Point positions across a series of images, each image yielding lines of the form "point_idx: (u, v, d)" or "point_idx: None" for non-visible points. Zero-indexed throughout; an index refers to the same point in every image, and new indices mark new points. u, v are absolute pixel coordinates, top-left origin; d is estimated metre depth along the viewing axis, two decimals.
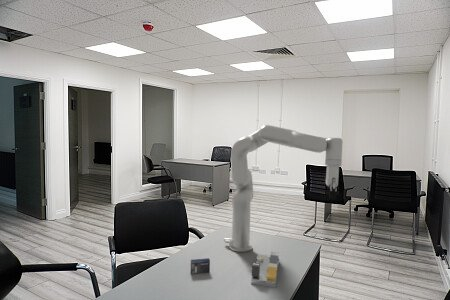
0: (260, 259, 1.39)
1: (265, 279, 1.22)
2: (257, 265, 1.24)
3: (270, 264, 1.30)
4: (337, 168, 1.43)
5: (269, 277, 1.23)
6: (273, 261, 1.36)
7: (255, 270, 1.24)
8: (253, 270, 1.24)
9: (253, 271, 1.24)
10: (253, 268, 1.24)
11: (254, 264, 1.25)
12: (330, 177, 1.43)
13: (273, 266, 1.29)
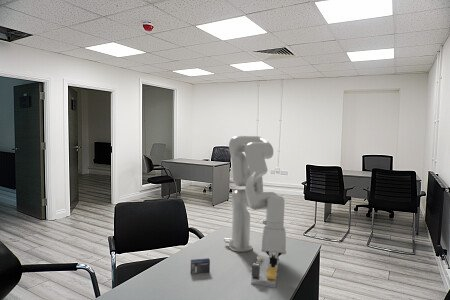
0: (260, 259, 1.39)
1: (265, 279, 1.22)
2: (257, 265, 1.24)
3: (270, 265, 1.30)
4: None
5: (269, 276, 1.23)
6: None
7: (255, 270, 1.24)
8: (253, 270, 1.24)
9: (253, 271, 1.24)
10: (253, 268, 1.24)
11: (254, 264, 1.25)
12: (285, 242, 1.27)
13: None
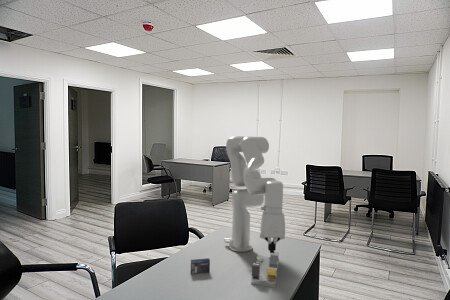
0: (260, 259, 1.39)
1: (265, 279, 1.22)
2: (257, 265, 1.24)
3: (270, 267, 1.31)
4: None
5: (269, 272, 1.23)
6: (273, 261, 1.36)
7: (255, 270, 1.24)
8: (253, 270, 1.24)
9: (253, 271, 1.24)
10: (253, 268, 1.24)
11: (254, 264, 1.25)
12: None
13: (273, 268, 1.29)
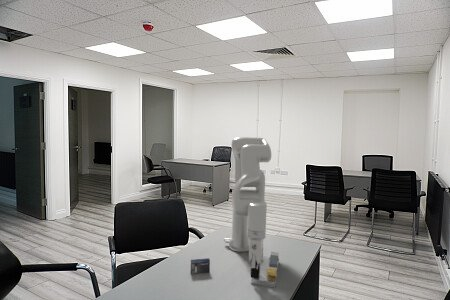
0: None
1: (265, 279, 1.22)
2: None
3: (270, 267, 1.31)
4: None
5: (269, 272, 1.23)
6: (273, 261, 1.36)
7: None
8: None
9: None
10: None
11: None
12: None
13: (273, 268, 1.29)
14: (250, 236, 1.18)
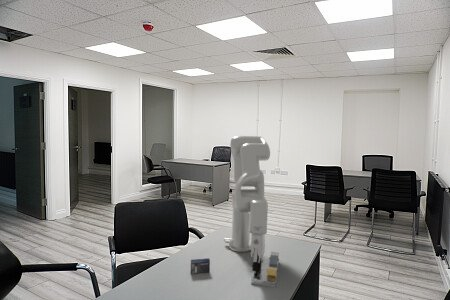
0: None
1: (265, 279, 1.22)
2: None
3: (270, 267, 1.31)
4: None
5: (269, 272, 1.23)
6: (273, 261, 1.36)
7: None
8: None
9: None
10: None
11: None
12: None
13: (273, 268, 1.29)
14: (252, 231, 1.24)
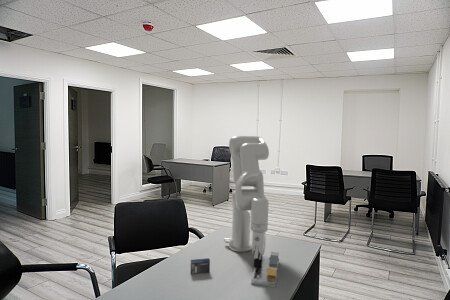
0: None
1: (265, 279, 1.22)
2: None
3: (270, 267, 1.31)
4: None
5: (269, 272, 1.23)
6: (273, 261, 1.36)
7: None
8: None
9: None
10: None
11: None
12: None
13: (273, 268, 1.29)
14: (253, 229, 1.27)
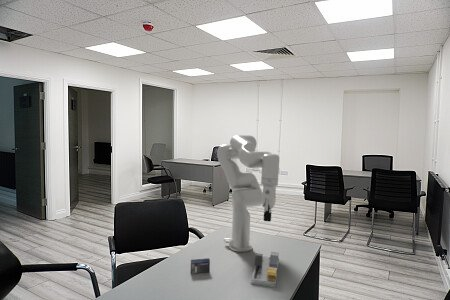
0: None
1: (265, 279, 1.22)
2: (260, 255, 1.34)
3: (270, 267, 1.31)
4: None
5: (269, 272, 1.23)
6: (273, 261, 1.36)
7: (257, 260, 1.34)
8: (256, 260, 1.34)
9: (256, 261, 1.34)
10: (256, 259, 1.34)
11: (257, 255, 1.34)
12: None
13: (273, 268, 1.29)
14: (264, 183, 1.32)
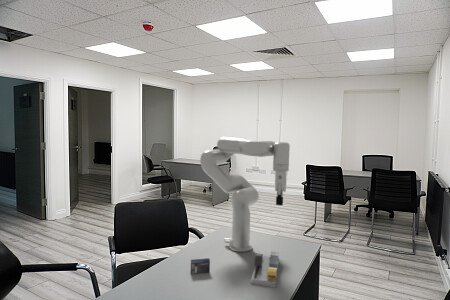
0: None
1: (265, 279, 1.22)
2: (260, 255, 1.34)
3: (270, 267, 1.31)
4: None
5: (269, 272, 1.23)
6: (273, 261, 1.36)
7: (257, 260, 1.34)
8: (256, 260, 1.34)
9: (256, 261, 1.34)
10: (256, 259, 1.34)
11: (257, 255, 1.34)
12: None
13: (273, 268, 1.29)
14: (276, 169, 1.43)
